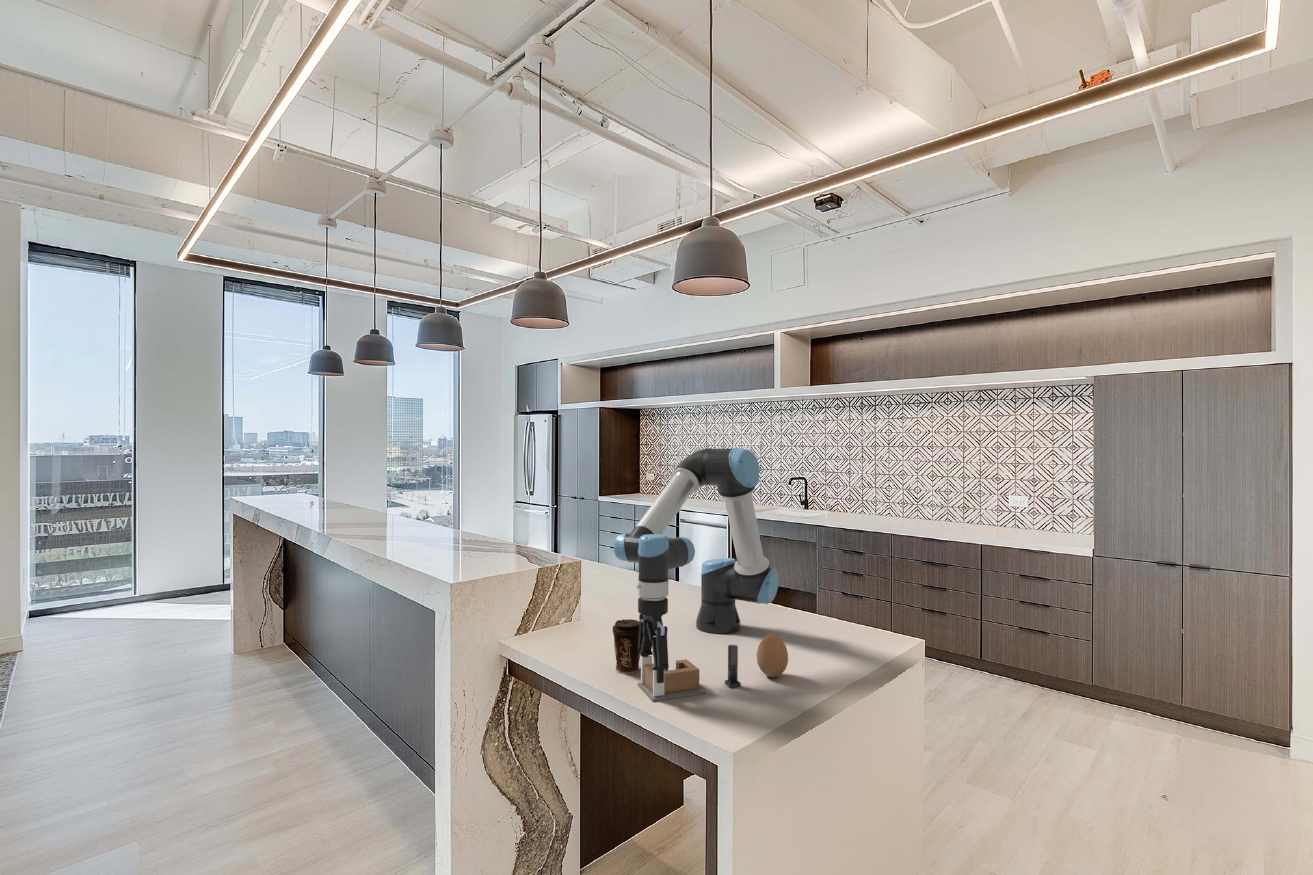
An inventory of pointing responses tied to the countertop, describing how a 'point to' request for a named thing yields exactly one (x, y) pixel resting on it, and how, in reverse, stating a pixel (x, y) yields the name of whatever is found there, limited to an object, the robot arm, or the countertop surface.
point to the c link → (674, 678)
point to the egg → (772, 655)
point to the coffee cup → (626, 645)
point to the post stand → (732, 667)
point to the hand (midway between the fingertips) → (652, 688)
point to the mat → (670, 696)
